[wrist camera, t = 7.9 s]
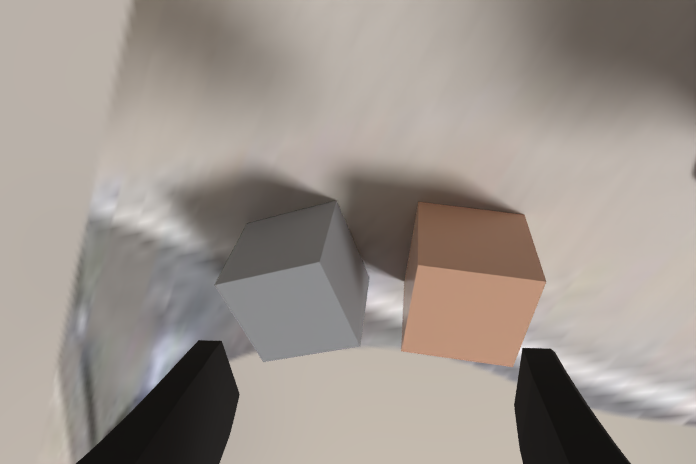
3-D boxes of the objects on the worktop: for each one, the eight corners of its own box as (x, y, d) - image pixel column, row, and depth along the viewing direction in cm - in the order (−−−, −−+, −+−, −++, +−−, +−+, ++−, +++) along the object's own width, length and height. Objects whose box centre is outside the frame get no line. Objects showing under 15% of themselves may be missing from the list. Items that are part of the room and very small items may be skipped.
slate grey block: (337, 199, 22) (319, 261, 18) (369, 276, 24) (360, 346, 20) (247, 222, 23) (214, 285, 19) (286, 293, 25) (263, 361, 22)
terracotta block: (524, 213, 21) (546, 281, 17) (498, 292, 24) (512, 367, 20) (418, 200, 21) (417, 265, 18) (404, 280, 24) (401, 351, 20)
